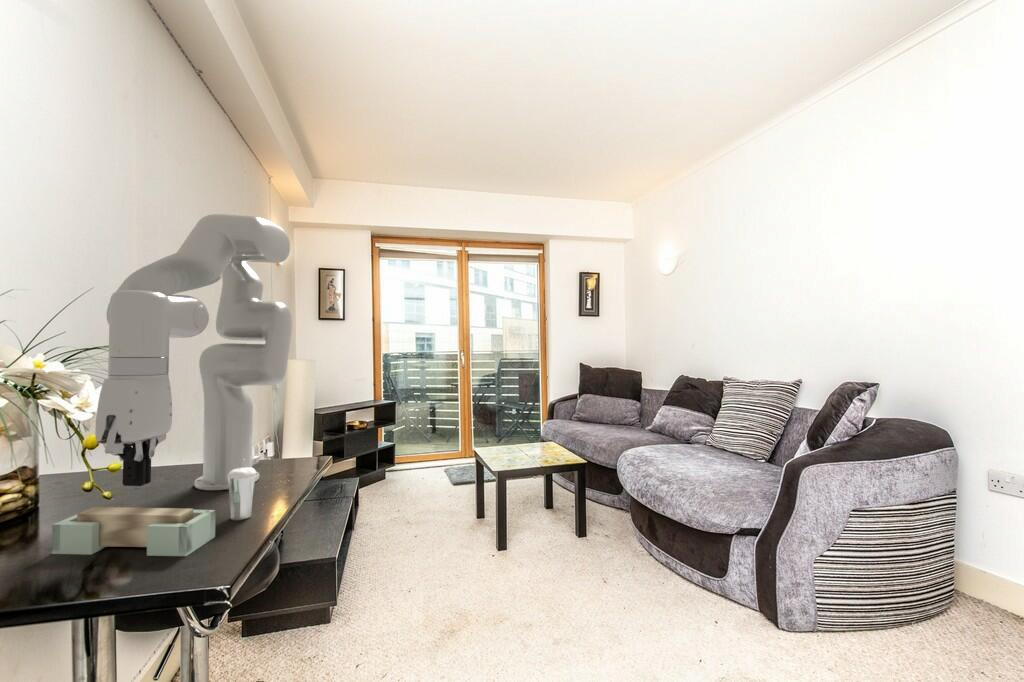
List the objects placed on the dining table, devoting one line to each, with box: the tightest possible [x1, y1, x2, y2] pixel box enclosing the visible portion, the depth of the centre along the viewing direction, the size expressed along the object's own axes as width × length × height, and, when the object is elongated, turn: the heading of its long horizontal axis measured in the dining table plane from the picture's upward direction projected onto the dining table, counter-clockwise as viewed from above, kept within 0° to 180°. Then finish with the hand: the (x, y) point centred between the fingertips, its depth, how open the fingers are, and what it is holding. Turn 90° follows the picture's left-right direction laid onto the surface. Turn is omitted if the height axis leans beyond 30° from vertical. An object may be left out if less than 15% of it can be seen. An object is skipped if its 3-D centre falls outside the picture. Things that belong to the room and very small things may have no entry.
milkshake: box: [227, 459, 257, 521], centre depth 87 cm, size 4×5×10 cm
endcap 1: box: [51, 514, 108, 555], centre depth 74 cm, size 6×7×4 cm
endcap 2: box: [146, 509, 216, 557], centre depth 74 cm, size 6×7×4 cm
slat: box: [76, 506, 194, 548], centre depth 74 cm, size 16×3×5 cm, turn 90°
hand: (136, 484), depth 74 cm, fingers closed
